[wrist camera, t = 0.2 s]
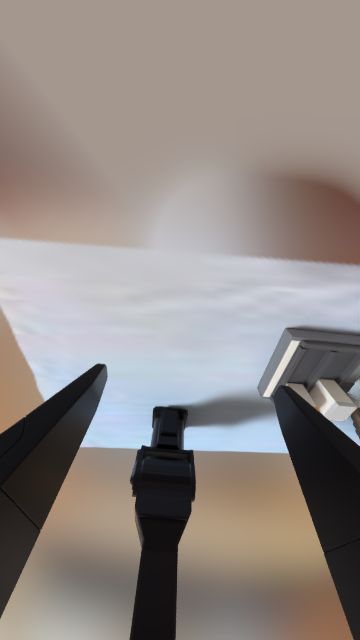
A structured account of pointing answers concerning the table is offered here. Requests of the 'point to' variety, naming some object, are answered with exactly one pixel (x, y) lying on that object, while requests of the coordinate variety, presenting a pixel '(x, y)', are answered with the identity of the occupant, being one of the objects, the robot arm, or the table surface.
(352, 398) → the toggle lever
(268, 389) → the panel
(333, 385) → the block
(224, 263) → the table surface
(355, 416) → the owl
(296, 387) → the fader orange
